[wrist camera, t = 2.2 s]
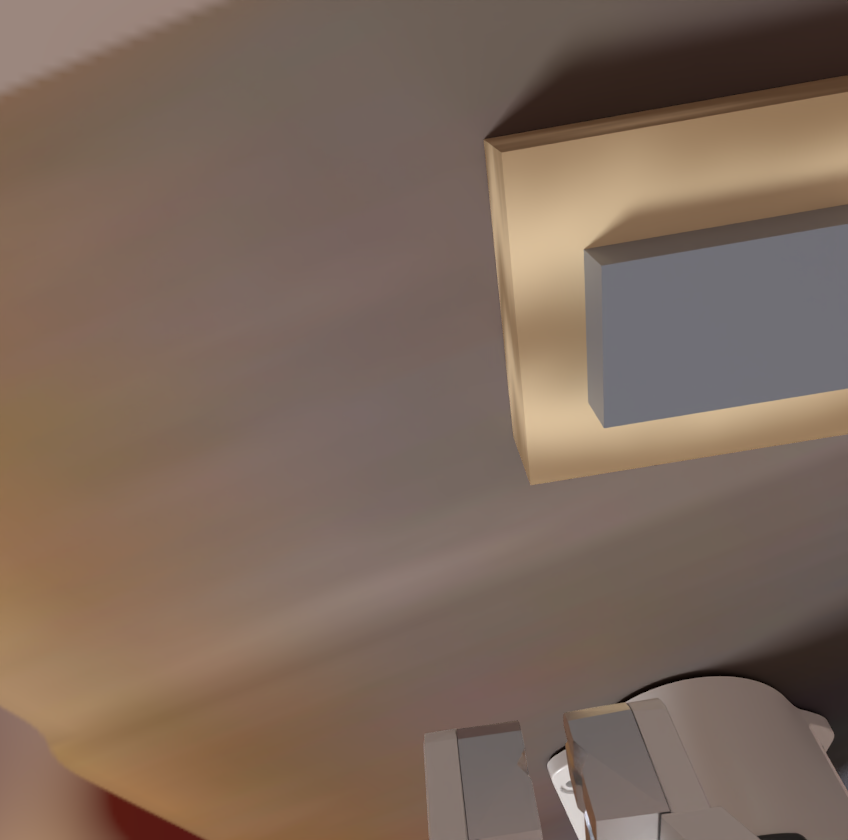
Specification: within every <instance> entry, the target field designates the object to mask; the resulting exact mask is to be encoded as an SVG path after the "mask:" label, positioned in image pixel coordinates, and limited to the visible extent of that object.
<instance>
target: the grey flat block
mask: <svg viewBox="0 0 848 840" xmlns="http://www.w3.org/2000/svg"><path fill="white" fill-rule="evenodd" d="M584 277H585V311H586V346H587V380H588V403H589V405H590V406H591V408H592V410H593V411H594V413H595V415H596V416H597V418H598V419H599V421H600V423H601V424H602V426H603V428H609V427H615V426H622V425H628V424H634V423H640V422H646V421H652V420H658V419H664V418H671V417H677V416H683V415H689V414H695V413H701V412H707V411H713V410H720V409H726V408H732V407H738V406H744V405H750V404H756V403H762V402H768V401H775V400H781V399H787V398H793V397H799V396H805V395H811V394H817V393H824V392H830V391H836V390H842V389H848V204H846V205H840V206H834V207H828V208H823V209H817V210H811V211H805V212H799V213H793V214H788V215H782V216H776V217H770V218H764V219H758V220H752V221H747V222H741V223H735V224H729V225H723V226H717V227H712V228H706V229H700V230H694V231H688V232H682V233H677V234H671V235H665V236H659V237H653V238H647V239H641V240H636V241H630V242H624V243H618V244H612V245H606V246H601V247H595V248H589V249H584Z"/></svg>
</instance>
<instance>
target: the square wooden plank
mask: <svg viewBox="0 0 848 840" xmlns="http://www.w3.org/2000/svg"><path fill="white" fill-rule="evenodd" d="M484 148H485V158H486V168H487V178H488V188H489V198H490V208H491V218H492V228H493V238H494V248H495V258H496V268H497V278H498V288H499V298H500V308H501V318H502V328H503V338H504V348H505V358H506V368H507V378H508V388H509V398H510V408H511V418H512V428H513V437H514V439H515V442H516V445H517V448H518V451H519V454H520V456H521V459H522V462H523V465H524V468H525V471H526V473H527V476H528V479H529V482H530V485H535V484H541V483H548V482H554V481H560V480H566V479H572V478H579V477H585V476H591V475H597V474H603V473H609V472H616V471H622V470H628V469H634V468H640V467H647V466H653V465H659V464H665V463H671V462H678V461H684V460H690V459H696V458H702V457H709V456H715V455H721V454H727V453H733V452H740V451H746V450H752V449H758V448H764V447H771V446H777V445H783V444H789V443H795V442H801V441H808V440H814V439H820V438H826V437H832V436H839V435H845V434H848V389H842V390H836V391H830V392H824V393H817V394H811V395H805V396H799V397H793V398H787V399H781V400H775V401H768V402H762V403H756V404H750V405H744V406H738V407H732V408H726V409H720V410H713V411H707V412H701V413H695V414H689V415H683V416H677V417H671V418H664V419H658V420H652V421H646V422H640V423H634V424H628V425H622V426H615V427H609V428H603V426H602V424H601V423H600V421H599V419H598V418H597V416H596V415H595V413H594V411H593V410H592V408H591V406H590V405H589V403H588V380H587V346H586V311H585V277H584V249H589V248H595V247H601V246H606V245H612V244H618V243H624V242H630V241H636V240H641V239H647V238H653V237H659V236H665V235H671V234H677V233H682V232H688V231H694V230H700V229H706V228H712V227H717V226H723V225H729V224H735V223H741V222H747V221H752V220H758V219H764V218H770V217H776V216H782V215H788V214H793V213H799V212H805V211H811V210H817V209H823V208H828V207H834V206H840V205H846V204H848V75H845V76H840V77H834V78H828V79H823V80H817V81H811V82H806V83H800V84H794V85H789V86H783V87H777V88H772V89H766V90H760V91H755V92H749V93H743V94H738V95H732V96H726V97H721V98H715V99H709V100H704V101H698V102H692V103H687V104H681V105H675V106H670V107H664V108H659V109H653V110H647V111H642V112H636V113H630V114H625V115H619V116H613V117H608V118H602V119H596V120H591V121H585V122H579V123H574V124H568V125H562V126H557V127H551V128H545V129H540V130H534V131H528V132H523V133H517V134H511V135H506V136H500V137H494V138H489V139H484Z"/></svg>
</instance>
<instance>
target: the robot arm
mask: <svg viewBox="0 0 848 840" xmlns="http://www.w3.org/2000/svg"><path fill="white" fill-rule="evenodd" d="M563 722H564V729H565V733H566V737H567V740H568V741H567V742H566V743H565V748H566V749H565V750H563V751H562V752H560V753H558V754H557V755H555V756H554V757H553V758H552V759H551V760H550V761H549V762H548V764H547V768H548V771H549V774H550V777H551V779H552V782H553V784H554V786H555V789H556V791H557V793H558V795H559V797H560V800H561V802H562V804H563V806H564V808H565V810H566V813H567V815H568V817H569V819H570V821H571V823H572V826H573V828H574V830H575V832H576V834H577V837H578V839H579V840H848V791H847V789H846V788H845V786H844V784H843V782H842V780H841V779H840V777H839V775H838V773H837V772H836V770H835V768H834V766H833V764H832V763H831V761H830V759H829V757H828V755H827V754H826V751H827V750H828V748H829V746H830V745H831V743H832V741H833V739H834V732H833V730H832V729H831V727H830V725H829V723H828V721H827V719H826V718H824V717H823V716H821V715H818V714H815V713H812V712H809V711H805V710H801V709H798V708H796V707H795V706H794V705H792V704H791V703H790V702H789V701H788V700H787V699H786V698H785V697H784V696H783V695H782V694H781V693H780V692H778V691H777V690H775V689H774V688H772V687H770V686H768V685H766V684H764V683H761V682H758V681H754V680H750V679H746V678H739V677H729V676H711V677H700V678H692V679H687V680H682V681H677V682H673V683H670V684H666V685H663V686H660V687H657V688H654V689H652V690H649V691H647V692H644V693H642V694H640V695H638V696H636V697H634V698H632V699H630V700H628V701H627V702H623V703H618V704H612V705H606V706H600V707H594V708H588V709H583V710H577V711H571V712H565V713H564V715H563ZM424 761H425V778H426V795H427V812H428V829H429V840H543V838H542V831H541V825H540V820H539V815H538V810H537V805H536V800H535V795H534V790H533V785H532V780H531V778H530V777H529V776H528V774H529V773H528V766H527V759H526V752H525V746H524V741H523V737H522V732H521V727H520V723H519V721H518V720H516V721H510V722H503V723H496V724H489V725H482V726H475V727H469V728H462V729H451V730H445V731H439V732H432V733H426V734H425V736H424Z"/></svg>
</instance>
